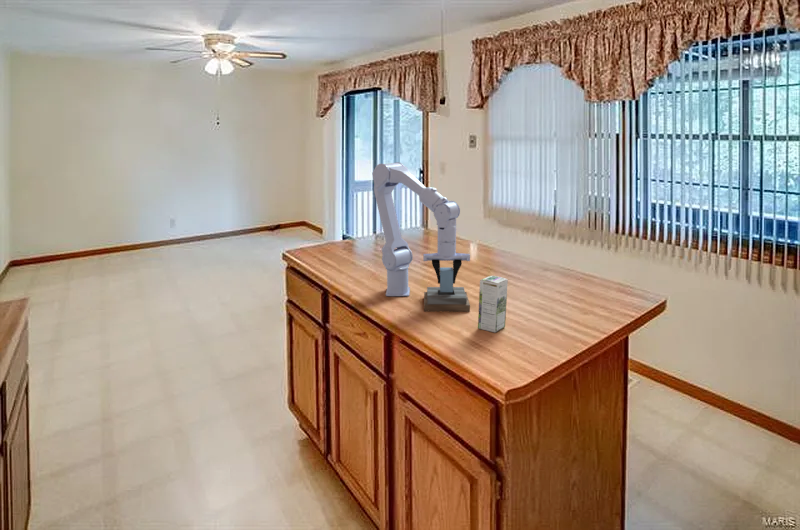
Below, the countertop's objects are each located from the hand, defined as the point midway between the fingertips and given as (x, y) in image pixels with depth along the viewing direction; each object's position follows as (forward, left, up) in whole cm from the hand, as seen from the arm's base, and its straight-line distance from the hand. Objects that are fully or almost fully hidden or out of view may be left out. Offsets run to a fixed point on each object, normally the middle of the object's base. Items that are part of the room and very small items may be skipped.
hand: (446, 282), depth 171 cm
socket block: (0, 0, -7) cm, 7 cm away
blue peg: (0, 0, -2) cm, 3 cm away
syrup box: (+21, +12, -8) cm, 25 cm away
